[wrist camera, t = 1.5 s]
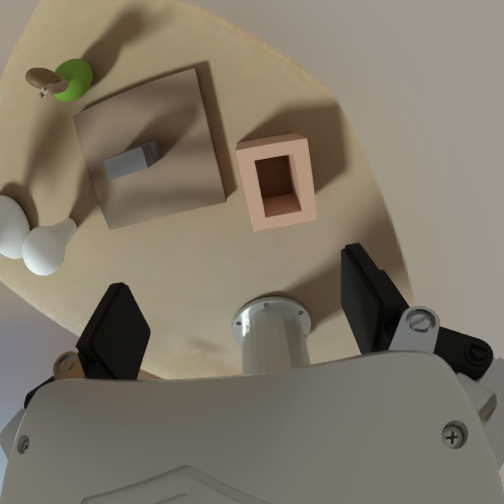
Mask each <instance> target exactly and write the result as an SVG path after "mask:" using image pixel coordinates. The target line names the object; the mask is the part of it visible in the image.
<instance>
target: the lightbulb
mask: <svg viewBox="0 0 504 504" xmlns="http://www.w3.org/2000/svg"><path fill="white" fill-rule="evenodd" d="M76 229H77V227H76V223H75V222H74V221H73V220H72V219H70V218H67V219H65V220H63V221H62V222H59V223H57V224H55V225H54V226H39V227H37V228H34V229H33V230H32V231H30V232H29V233H28V235H27V236H26V238H25V240H24V243H23V248H22V254H23V259H24V262H25V264H26V265H27V267H28V268H29V269H30V270H31V271H32V272H33V273H35V274H38V275H50V274H52V273H54V272H55V271H57V269H58V268H59V267H60V266H61V264H62V262H63V260H64V255H65V248H66V245H67V243H68V242H69V241H70V239H71V237H72V236H73V235H74V233H75V232H76Z"/></svg>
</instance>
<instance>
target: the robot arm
mask: <svg viewBox="0 0 504 504" xmlns="http://www.w3.org/2000/svg"><path fill="white" fill-rule="evenodd" d="M341 304H342V308H343V310H344V313H345V315H346V317H347V320H348V322H349V325H350V327H351V329H352V332H353V334H354V337H355V339H356V342H357V344H358V347H359V349H360V352H361V354H362V355H358V356H353V357H348V358H343V359H338V360H333V361H328V362H323V363H317V364H312V365H311V363H310V359H309V354H308V350H307V345H306V341H305V339H306V338H307V336H308V335H309V333H310V330H311V319H310V316H309V313H308V311H307V310H306V308H305V307H304V306H303V305H301V304H300V303H299V302H297V301H295V300H292V299H289V298H285V297H265V298H261V299H257V300H254V301H252V302H250V303H248V304H247V305H245V306H244V307H242V308H241V309H240V310H239V311H238V313H237V314H236V316H235V317H234V320H233V326H232V332H233V336H234V339H235V340H236V342H237V343H238V344H239V345H240V346H241V347H242V375H233V376H223V377H210V378H195V379H172V380H137V377H138V373H139V370H140V366H141V363H142V360H143V357H144V353H145V350H146V347H147V344H148V341H149V338H150V333H151V332H150V328H149V326H148V324H147V322H146V320H145V318H144V317H143V315H142V313H141V311H140V309H139V307H138V305H137V303H136V301H135V299H134V297H133V295H132V293H131V291H130V289H129V287H128V286H127V285H125V284H124V283H123V282H120V283H114V284H111V285H110V286H109V288H108V289H107V291H106V293H105V294H104V296H103V298H102V299H101V301H100V303H99V304H98V306H97V308H96V310H95V311H94V313H93V315H92V317H91V318H90V320H89V322H88V324H87V326H86V327H85V329H84V331H83V333H82V335H81V337H80V339H79V340H78V342H77V344H76V348H77V349H78V350H79V352H78V354H77V353H76V352H73V351H69V352H66V353H63V354H62V355H61V356H59V357H58V359H57V360H56V361H55V363H54V366H53V374H54V376H52V377H51V378H50V379H48V380H47V381H45V382H44V383H42V384H41V385H39V386H38V387H36V388H35V389H34V390H32V391H31V392H29V393H28V394H27V396H26V399H25V402H24V408H25V410H23V409H21V410H20V411H19V412H18V413H17V414H16V415H15V416H14V418H13V419H12V420H11V421H10V422H9V423H8V424H7V426H6V427H5V428H4V429H3V431H2V432H1V435H0V444H1V446H2V448H3V450H4V452H5V454H6V456H7V458H8V463H7V467H6V471H5V476H4V481H3V486H2V492H1V498H0V504H504V492H503V487H502V482H501V478H500V474H499V469H500V467H501V466H502V464H503V462H504V360H503V359H501V358H500V357H499V358H498V360H497V359H495V358H494V357H493V351H492V349H491V347H490V346H489V345H488V344H487V343H486V342H485V341H483V340H481V339H478V338H475V337H472V336H468V335H465V334H462V333H459V332H456V331H453V330H449V329H447V328H444V327H440V320H439V318H438V315H437V314H436V313H435V312H434V311H433V310H431V309H429V308H427V307H423V306H414V307H411V308H410V307H409V305H408V304H407V302H406V301H405V299H404V298H403V296H402V295H401V294H400V292H399V291H398V289H397V288H396V286H395V285H394V283H393V282H392V281H391V279H390V278H389V276H388V275H387V274H386V272H385V271H384V270H379V269H378V268H377V266H376V265H375V263H374V262H373V261H372V259H371V258H370V257H369V255H368V254H367V252H366V251H365V250H364V248H363V247H362V246H361V244H360V243H354V244H349V245H346V246H345V249H342V250H341Z"/></svg>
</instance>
